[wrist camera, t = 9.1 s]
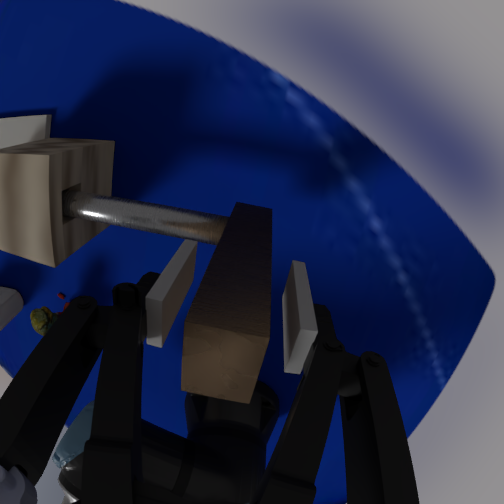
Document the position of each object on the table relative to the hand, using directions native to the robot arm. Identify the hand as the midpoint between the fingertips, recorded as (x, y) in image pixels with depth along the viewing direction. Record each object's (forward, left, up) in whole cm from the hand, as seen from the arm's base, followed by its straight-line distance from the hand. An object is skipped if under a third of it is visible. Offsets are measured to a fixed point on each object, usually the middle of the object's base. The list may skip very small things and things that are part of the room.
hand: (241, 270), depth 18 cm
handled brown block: (+11, 0, -8) cm, 14 cm away
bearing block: (+22, 0, -14) cm, 26 cm away
